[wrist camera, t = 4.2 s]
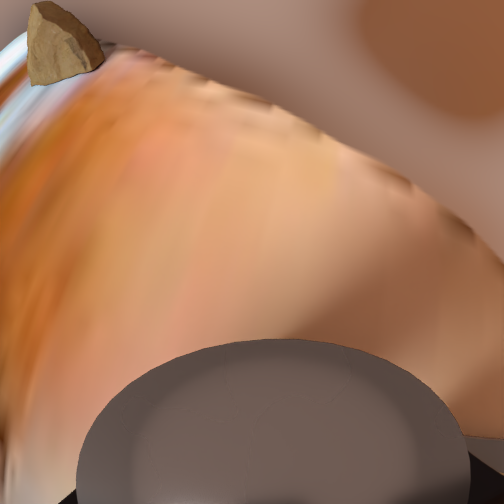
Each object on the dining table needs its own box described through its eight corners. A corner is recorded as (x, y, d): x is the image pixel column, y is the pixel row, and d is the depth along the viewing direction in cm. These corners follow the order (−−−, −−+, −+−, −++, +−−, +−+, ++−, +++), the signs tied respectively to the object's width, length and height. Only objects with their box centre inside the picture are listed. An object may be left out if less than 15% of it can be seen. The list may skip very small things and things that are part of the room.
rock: (126, 31, 23) (90, 11, 25) (58, 10, 15) (34, -4, 17) (80, 118, 28) (53, 85, 29) (13, 117, 20) (-2, 81, 22)
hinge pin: (305, 458, 13) (356, 643, 1) (212, 426, 14) (58, 556, 2) (341, 370, 14) (519, 390, 2) (247, 338, 15) (145, 272, 3)
